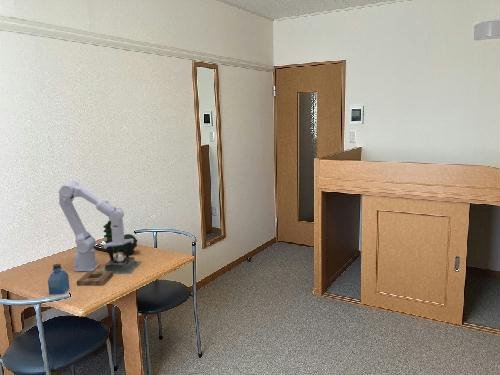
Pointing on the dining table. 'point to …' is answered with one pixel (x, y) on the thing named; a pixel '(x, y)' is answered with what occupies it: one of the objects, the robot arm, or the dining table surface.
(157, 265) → the dining table surface
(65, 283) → the perfume bottle
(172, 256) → the dining table surface
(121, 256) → the steel peg
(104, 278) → the walnut stand
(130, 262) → the metal hub block
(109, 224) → the toy figurine
